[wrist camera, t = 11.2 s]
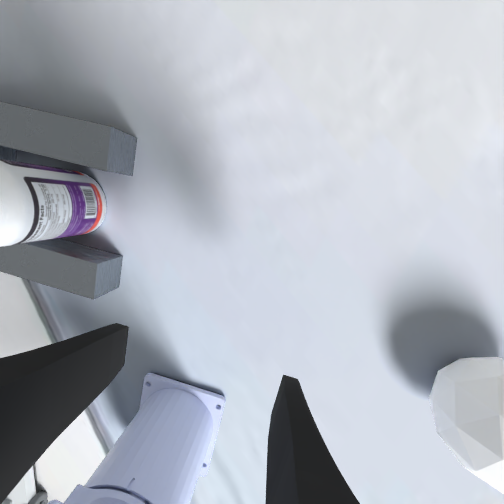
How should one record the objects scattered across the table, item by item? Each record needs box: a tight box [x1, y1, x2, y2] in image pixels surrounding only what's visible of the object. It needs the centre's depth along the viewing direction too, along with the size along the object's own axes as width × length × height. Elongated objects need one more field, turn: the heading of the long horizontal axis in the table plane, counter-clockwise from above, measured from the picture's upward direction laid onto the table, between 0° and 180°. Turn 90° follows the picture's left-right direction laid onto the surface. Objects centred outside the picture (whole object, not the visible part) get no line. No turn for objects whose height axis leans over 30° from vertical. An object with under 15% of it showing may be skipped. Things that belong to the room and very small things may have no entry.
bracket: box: [0, 102, 137, 299], centre depth 20 cm, size 13×14×3 cm
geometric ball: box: [429, 357, 504, 494], centre depth 16 cm, size 8×8×8 cm
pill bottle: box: [0, 159, 106, 247], centre depth 17 cm, size 5×5×10 cm
